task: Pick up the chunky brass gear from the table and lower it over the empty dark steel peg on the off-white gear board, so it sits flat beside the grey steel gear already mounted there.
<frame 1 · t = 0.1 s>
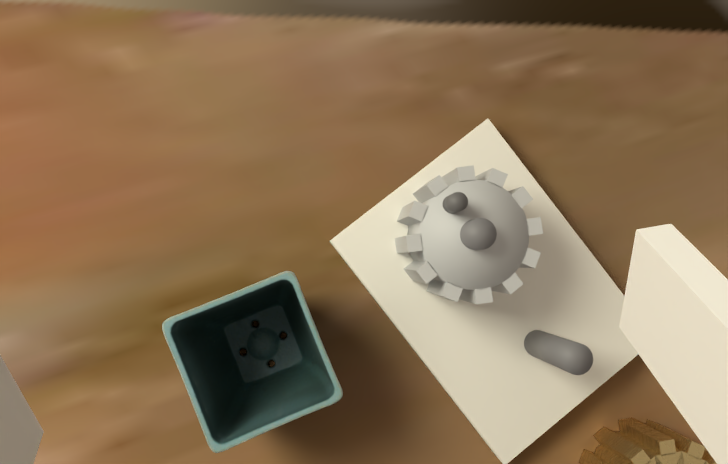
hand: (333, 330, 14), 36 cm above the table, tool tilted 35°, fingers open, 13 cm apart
flower pot: (264, 341, 49), on the table
gear board: (489, 289, 50), on the table
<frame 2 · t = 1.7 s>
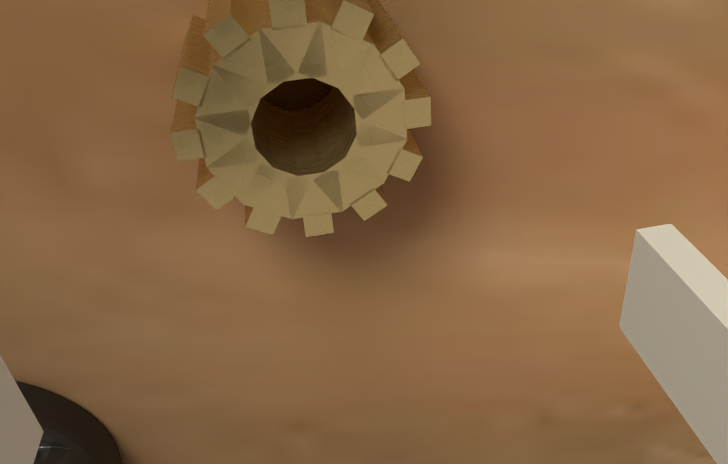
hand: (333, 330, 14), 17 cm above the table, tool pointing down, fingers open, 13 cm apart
brass gear: (293, 70, 28), on the table
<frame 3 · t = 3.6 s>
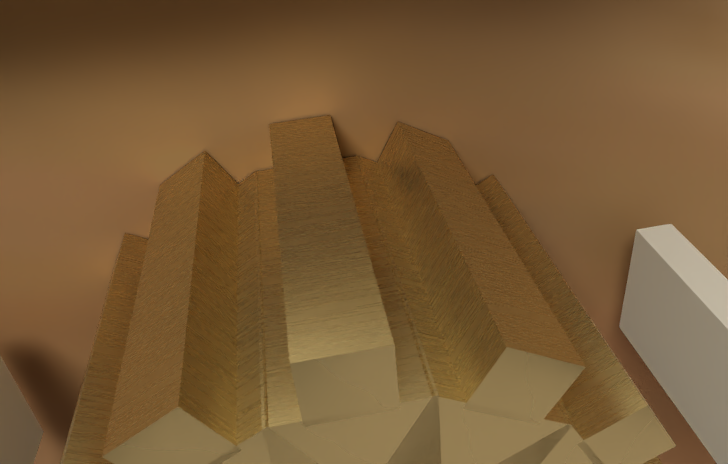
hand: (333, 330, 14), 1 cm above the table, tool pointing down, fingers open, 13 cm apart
brass gear: (329, 308, 14), on the table
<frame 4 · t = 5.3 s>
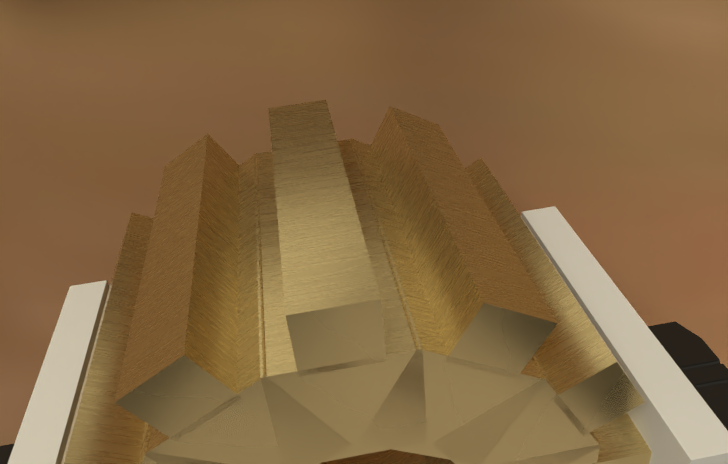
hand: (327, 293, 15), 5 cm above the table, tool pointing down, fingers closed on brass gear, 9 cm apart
brass gear: (326, 287, 15), point 4 cm above the table, touching gripper
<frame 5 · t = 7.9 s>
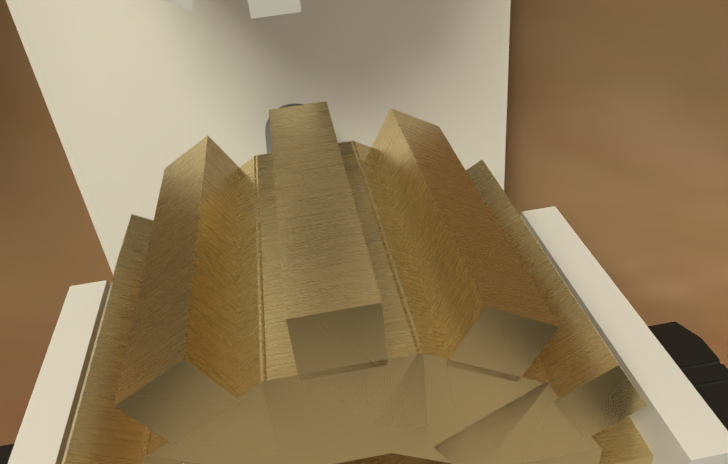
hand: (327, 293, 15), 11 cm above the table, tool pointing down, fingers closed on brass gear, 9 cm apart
brass gear: (326, 288, 15), point 11 cm above the table, touching gripper
when the fingers open (3 cm above the table, at t = 10.5 s): brass gear drops 1 cm, resting on gear board.
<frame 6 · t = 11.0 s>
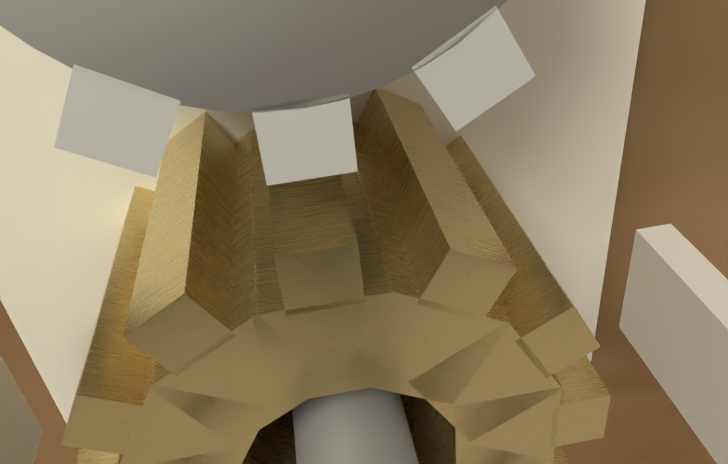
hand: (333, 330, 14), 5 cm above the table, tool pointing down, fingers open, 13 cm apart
brass gear: (317, 258, 16), point 2 cm above the table, touching gear board
gear board: (283, 27, 15), on the table
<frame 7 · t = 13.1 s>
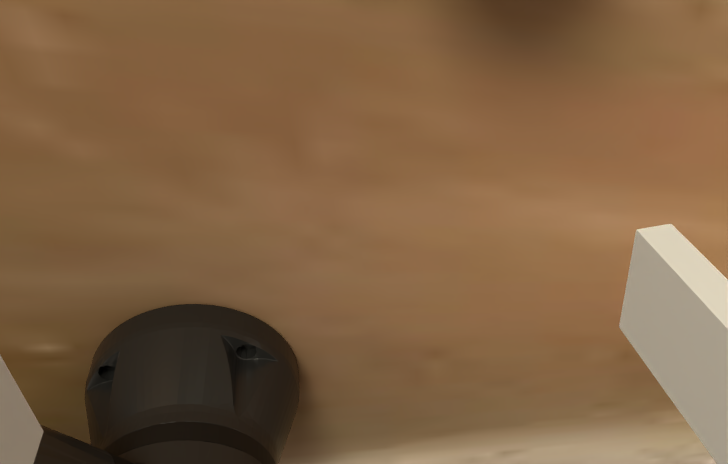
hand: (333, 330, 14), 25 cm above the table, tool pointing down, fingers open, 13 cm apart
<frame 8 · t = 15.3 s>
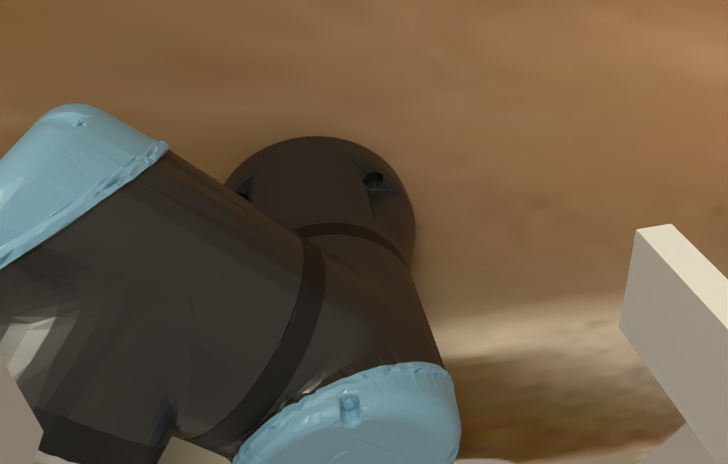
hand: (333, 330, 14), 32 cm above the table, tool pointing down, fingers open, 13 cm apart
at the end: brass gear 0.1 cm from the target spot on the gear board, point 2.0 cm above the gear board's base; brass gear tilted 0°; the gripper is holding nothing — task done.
